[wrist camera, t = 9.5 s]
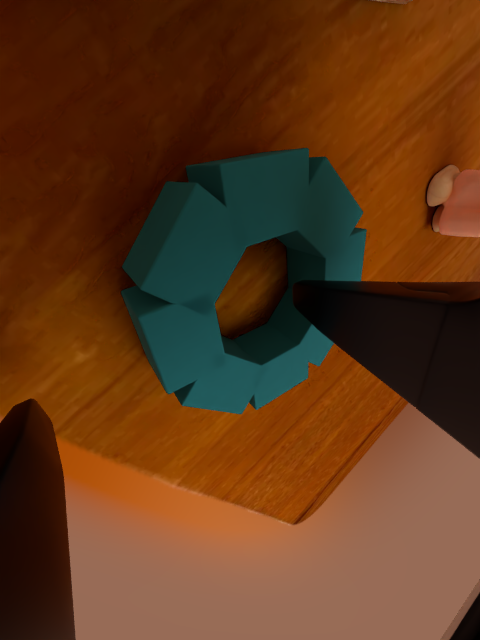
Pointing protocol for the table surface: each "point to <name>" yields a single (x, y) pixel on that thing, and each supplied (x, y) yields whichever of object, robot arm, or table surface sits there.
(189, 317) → the ring
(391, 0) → the board
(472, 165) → the table surface
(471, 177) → the grandmother figurine
